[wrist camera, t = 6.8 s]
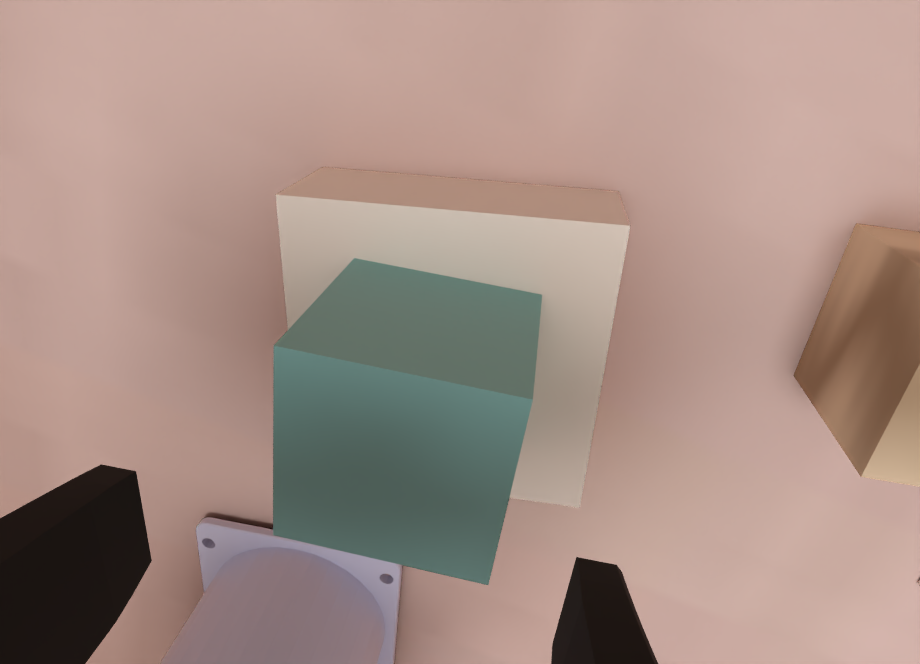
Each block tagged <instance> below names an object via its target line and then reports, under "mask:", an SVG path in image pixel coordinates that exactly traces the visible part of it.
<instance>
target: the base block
mask: <svg viewBox="0 0 920 664" xmlns="http://www.w3.org/2000/svg"><path fill="white" fill-rule="evenodd" d="M276 206H277V217H278V228H279V239H280V250H281V261H282V272H283V283H284V294H285V305H286V316H287V327H288V330H289V328H290V327H291V326H292V325H293V324H294V323H295V322H296V321H297V320H298V319H299V318H300V316H301V315H302V314H303V313H304V312H305V311H306V310H307V309H308V308H309V307H310V306H311V305H312V303H313V302H314V301H315V300H316V299H317V298H318V297H319V296H320V295H321V294H322V293H323V292H324V290H325V289H326V288H327V287H328V286H329V285H330V284H331V283H332V282H333V281H334V280H335V278H336V277H337V276H338V275H339V274H340V273H341V272H342V271H343V270H344V269H345V268H346V267H347V265H348V264H349V263H350V262H351V261H352V260H353V259H354V258H357V259H362V260H367V261H372V262H377V263H382V264H388V265H393V266H398V267H403V268H408V269H413V270H418V271H424V272H429V273H434V274H439V275H444V276H449V277H454V278H459V279H464V280H470V281H475V282H480V283H485V284H490V285H495V286H500V287H505V288H510V289H515V290H521V291H526V292H531V293H536V294H541V295H542V303H541V314H540V326H539V337H538V348H537V359H536V371H535V382H534V393H533V402H532V406H531V410H530V414H529V418H528V422H527V426H526V431H525V435H524V439H523V443H522V447H521V451H520V455H519V460H518V464H517V468H516V472H515V476H514V480H513V484H512V489H511V493H510V497H509V498H512V499H519V500H526V501H533V502H540V503H548V504H555V505H562V506H569V507H576V508H580V504H581V498H582V492H583V487H584V481H585V476H586V470H587V465H588V459H589V453H590V448H591V442H592V437H593V431H594V426H595V420H596V414H597V409H598V403H599V398H600V392H601V387H602V381H603V376H604V370H605V364H606V359H607V353H608V348H609V342H610V337H611V331H612V325H613V320H614V314H615V309H616V303H617V298H618V292H619V286H620V281H621V275H622V270H623V264H624V259H625V253H626V248H627V242H628V236H629V231H630V223H629V220H628V217H627V214H626V212H625V209H624V206H623V203H622V200H621V197H620V194H619V191H610V190H598V189H585V188H573V187H561V186H549V185H537V184H524V183H512V182H500V181H488V180H476V179H463V178H451V177H439V176H427V175H415V174H402V173H390V172H378V171H366V170H354V169H341V168H329V167H322V168H320V169H318V170H317V171H315V172H313V173H311V174H310V175H308V176H306V177H305V178H303V179H301V180H300V181H298V182H296V183H294V184H293V185H291V186H289V187H288V188H286V189H284V190H282V191H281V192H279V193H277V194H276Z"/></svg>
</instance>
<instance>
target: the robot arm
mask: <svg viewBox="0 0 920 664" xmlns="http://www.w3.org/2000/svg"><path fill="white" fill-rule="evenodd" d="M196 536H197V543H198V551H199V559H200V566H201V574H202V581H203V589H204V594H203V596H202V597H201V599H200V601H199V602H198V604H197V605H196V607H195V608H194V610H193V612H192V613H191V615H190V616H189V618H188V619H187V621H186V623H185V624H184V626H183V627H182V629H181V631H180V632H179V634H178V635H177V637H176V638H175V640H174V642H173V643H172V645H171V646H170V648H169V650H168V651H167V653H166V654H165V656H164V657H163V659H162V661H161V662H160V664H394V661H395V649H396V637H397V625H398V613H399V601H400V589H401V577H402V565H399V564H395V563H391V562H386V561H382V560H378V559H374V558H369V557H365V556H361V555H356V554H352V553H348V552H343V551H339V550H335V549H330V548H326V547H322V546H317V545H313V544H309V543H305V542H300V541H296V540H292V539H287V538H283V537H279V536H274V535H273V529H268V528H263V527H258V526H253V525H247V524H242V523H237V522H232V521H227V520H222V519H217V518H211V517H206V518H203V519H202V520H201V521H200V522H199V524H198V525H197V527H196ZM150 563H151V555H150V549H149V543H148V538H147V532H146V526H145V520H144V515H143V509H142V503H141V497H140V492H139V486H138V480H137V474H136V471H131V470H126V469H121V468H116V467H111V466H106V465H100V466H98V467H96V468H94V469H92V470H89V471H87V472H85V473H84V474H82V475H80V476H78V477H76V478H74V479H72V480H70V481H68V482H66V483H65V484H63V485H61V486H59V487H57V488H55V489H53V490H52V491H50V492H48V493H46V494H44V495H42V496H41V497H39V498H37V499H35V500H33V501H31V502H30V503H28V504H26V505H24V506H22V507H20V508H19V509H17V510H15V511H13V512H11V513H9V514H8V515H6V516H4V517H2V518H0V664H85V663H86V662H87V660H88V659H89V658H90V656H91V655H92V654H93V652H94V651H95V650H96V648H97V647H98V646H99V644H100V643H101V642H102V640H103V639H104V638H105V636H106V635H107V633H108V632H109V631H110V629H111V628H112V627H113V625H114V624H115V622H116V621H117V619H118V618H119V616H120V614H121V613H122V611H123V609H124V608H125V606H126V604H127V603H128V601H129V600H130V598H131V596H132V595H133V593H134V591H135V589H136V588H137V586H138V584H139V582H140V580H141V579H142V577H143V575H144V573H145V572H146V570H147V568H148V566H149V564H150ZM387 574H389V575H387ZM551 664H658V662H657V660H656V658H655V656H654V653H653V651H652V648H651V646H650V644H649V641H648V639H647V637H646V634H645V632H644V629H643V627H642V625H641V622H640V620H639V617H638V615H637V612H636V609H635V607H634V604H633V602H632V599H631V596H630V594H629V591H628V588H627V585H626V583H625V580H624V577H623V574H622V572H621V570H620V569H619V568H618V566H617V565H614V564H609V563H604V562H599V561H594V560H588V559H583V558H578V557H576V561H575V565H574V568H573V572H572V575H571V579H570V583H569V586H568V590H567V594H566V597H565V601H564V604H563V608H562V612H561V615H560V619H559V623H558V626H557V630H556V633H555V637H554V641H553V646H552V662H551Z"/></svg>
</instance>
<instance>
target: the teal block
mask: <svg viewBox="0 0 920 664" xmlns="http://www.w3.org/2000/svg"><path fill="white" fill-rule="evenodd" d="M541 303H542V295H541V294H536V293H531V292H526V291H521V290H515V289H510V288H505V287H500V286H495V285H490V284H485V283H480V282H475V281H470V280H464V279H459V278H454V277H449V276H444V275H439V274H434V273H429V272H424V271H418V270H413V269H408V268H403V267H398V266H393V265H388V264H382V263H377V262H372V261H367V260H362V259H357V258H354V259H353V260H352V261H351V262H350V263H349V264H348V265H347V267H346V268H345V269H344V270H343V271H342V272H341V273H340V274H339V275H338V276H337V277H336V278H335V280H334V281H333V282H332V283H331V284H330V285H329V286H328V287H327V288H326V289H325V290H324V292H323V293H322V294H321V295H320V296H319V297H318V298H317V299H316V300H315V301H314V302H313V303H312V305H311V306H310V307H309V308H308V309H307V310H306V311H305V312H304V313H303V314H302V315H301V316H300V318H299V319H298V320H297V321H296V322H295V323H294V324H293V325H292V326H291V327H290V328H289V330H288V331H287V332H286V333H285V334H284V335H283V336H282V337H281V338H280V339H279V340H278V341H277V343H276V344H275V345H274V415H273V535H274V536H279V537H283V538H287V539H292V540H296V541H300V542H305V543H309V544H313V545H317V546H322V547H326V548H330V549H335V550H339V551H343V552H348V553H352V554H356V555H361V556H365V557H369V558H374V559H378V560H382V561H386V562H391V563H395V564H399V565H404V566H408V567H412V568H417V569H421V570H425V571H430V572H434V573H438V574H442V575H447V576H451V577H455V578H460V579H464V580H468V581H473V582H477V583H481V584H486V585H488V584H489V580H490V576H491V571H492V567H493V563H494V559H495V555H496V551H497V547H498V542H499V538H500V534H501V530H502V526H503V522H504V518H505V513H506V509H507V505H508V501H509V497H510V493H511V489H512V484H513V480H514V476H515V472H516V468H517V464H518V460H519V455H520V451H521V447H522V443H523V439H524V435H525V431H526V426H527V422H528V418H529V414H530V410H531V406H532V402H533V393H534V382H535V371H536V359H537V348H538V337H539V326H540V314H541Z"/></svg>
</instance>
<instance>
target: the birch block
mask: <svg viewBox="0 0 920 664" xmlns="http://www.w3.org/2000/svg"><path fill="white" fill-rule="evenodd" d="M794 377H795V378H796V380H797V381H798V383H799V384H800V386H801V387H802V389H803V390H804V392H805V393H806V395H807V396H808V398H809V399H810V401H811V402H812V404H813V405H814V407H815V408H816V410H817V411H818V413H819V414H820V416H821V417H822V419H823V420H824V422H825V423H826V425H827V426H828V428H829V429H830V431H831V432H832V434H833V436H834V437H835V439H836V440H837V442H838V443H839V445H840V446H841V448H842V449H843V451H844V452H845V454H846V455H847V457H848V458H849V460H850V461H851V463H852V464H853V466H854V467H855V469H856V470H857V472H858V473H859V475H860V476H861V477H865V478H871V479H877V480H883V481H889V482H895V483H901V484H907V485H913V486H918V487H920V232H915V231H908V230H901V229H893V228H886V227H878V226H871V225H863V224H856V225H855V227H854V230H853V232H852V235H851V237H850V240H849V242H848V245H847V247H846V249H845V252H844V254H843V257H842V259H841V262H840V264H839V266H838V269H837V271H836V274H835V276H834V279H833V281H832V283H831V286H830V288H829V291H828V293H827V296H826V298H825V300H824V303H823V305H822V308H821V310H820V313H819V315H818V317H817V320H816V322H815V325H814V327H813V330H812V332H811V334H810V337H809V339H808V342H807V344H806V347H805V349H804V351H803V354H802V356H801V359H800V361H799V364H798V366H797V369H796V371H795V373H794Z"/></svg>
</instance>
